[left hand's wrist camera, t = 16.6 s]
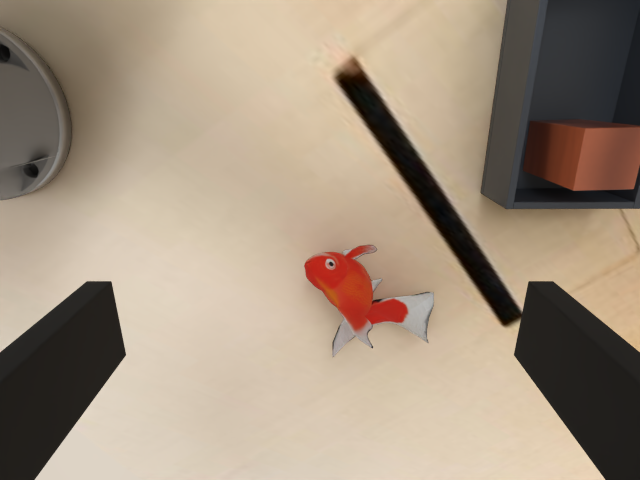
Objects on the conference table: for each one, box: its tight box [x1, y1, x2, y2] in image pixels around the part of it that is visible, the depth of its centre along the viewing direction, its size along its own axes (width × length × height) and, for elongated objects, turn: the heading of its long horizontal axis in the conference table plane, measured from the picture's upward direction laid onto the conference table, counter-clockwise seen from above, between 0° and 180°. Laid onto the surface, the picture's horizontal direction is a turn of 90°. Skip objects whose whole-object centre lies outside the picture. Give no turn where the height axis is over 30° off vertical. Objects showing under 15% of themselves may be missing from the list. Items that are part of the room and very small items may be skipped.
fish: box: [304, 245, 434, 357], centre depth 38 cm, size 11×16×10 cm
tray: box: [481, 0, 640, 209], centre depth 32 cm, size 11×25×6 cm, turn 0°
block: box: [523, 119, 640, 191], centre depth 33 cm, size 4×4×8 cm
